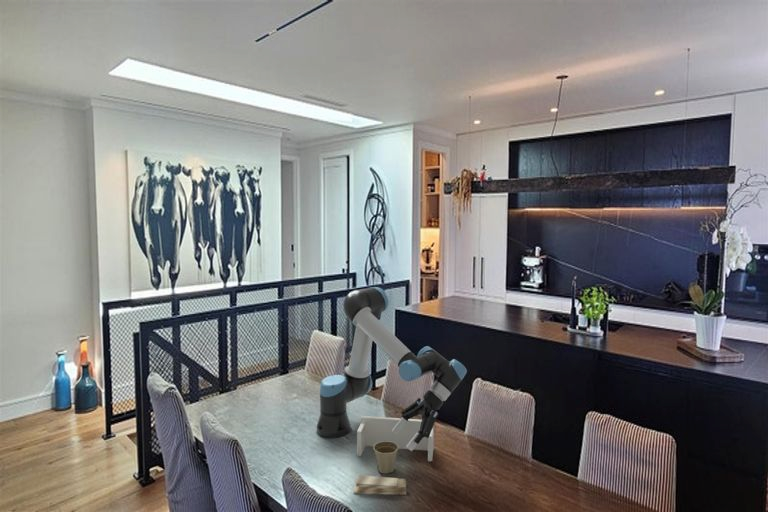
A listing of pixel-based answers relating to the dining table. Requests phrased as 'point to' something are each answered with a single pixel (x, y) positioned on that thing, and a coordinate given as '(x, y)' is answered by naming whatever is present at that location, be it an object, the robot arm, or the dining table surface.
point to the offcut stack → (379, 485)
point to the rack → (391, 434)
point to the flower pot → (386, 456)
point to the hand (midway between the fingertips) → (401, 440)
